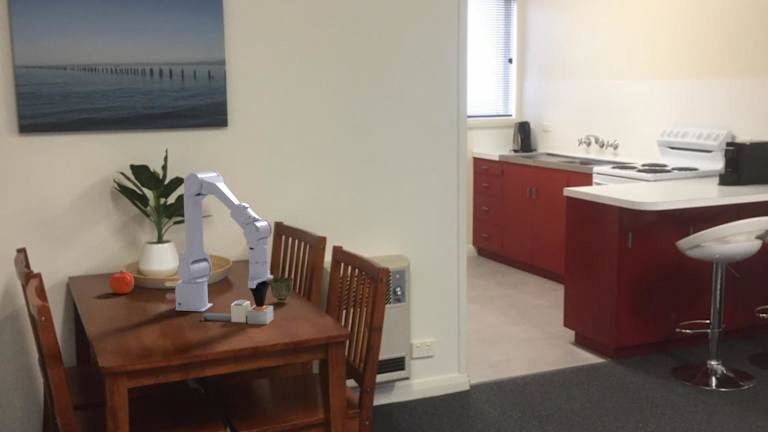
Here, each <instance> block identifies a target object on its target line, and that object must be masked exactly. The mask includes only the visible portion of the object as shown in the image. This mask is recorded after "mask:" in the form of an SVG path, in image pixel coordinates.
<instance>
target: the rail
mask: <svg viewBox="0 0 768 432" xmlns="http://www.w3.org/2000/svg"><path fill="white" fill-rule="evenodd" d="M246 319H247V316H246ZM202 321H203V322H205V321H219V322H220V321H223V322H224V321H225V322H231V313H217V312H216V313H215V312H205V313H202V315H201V317H200V322H202ZM246 323H248V321H247V322H246Z"/></svg>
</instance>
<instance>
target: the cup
mask: <svg viewBox="0 0 768 432" xmlns="http://www.w3.org/2000/svg"><path fill="white" fill-rule="evenodd" d="M269 281H270V286H269V287H270V291H271V296H272V297H274V298H275V301H276V303H277V304H278V305H279V304H280V305H284V304H287V303H288V298H290V297H291V296H292V293H293V285H294V284H293V282H294V278H293V277H289V278H288V276H286V277H285V276H283V277H281V276H279V277H277V276H275V277H274V276H273V278H272V279H269Z"/></svg>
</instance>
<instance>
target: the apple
mask: <svg viewBox="0 0 768 432" xmlns="http://www.w3.org/2000/svg"><path fill="white" fill-rule="evenodd" d="M108 284H109V288H110V289H111V291H112V292H113V293H114V294H117V295H124V294H129V293H130V292H131V291H132V290H133V289H134V287H135V286H134V285H135V279H134V276H133V274H131V273H130V272H127V271H124V272H123V271H122V270H120V273H115V274H113V275H111V277H110V278H109V282H108Z"/></svg>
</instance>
